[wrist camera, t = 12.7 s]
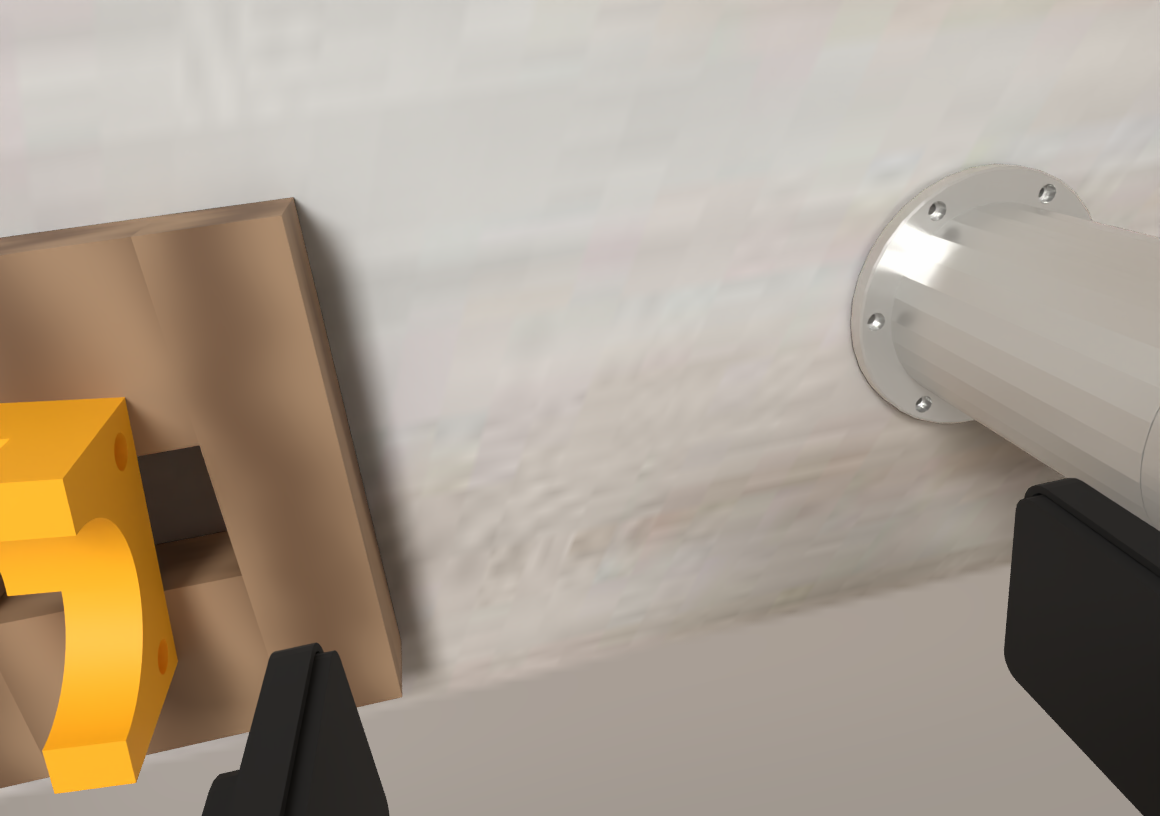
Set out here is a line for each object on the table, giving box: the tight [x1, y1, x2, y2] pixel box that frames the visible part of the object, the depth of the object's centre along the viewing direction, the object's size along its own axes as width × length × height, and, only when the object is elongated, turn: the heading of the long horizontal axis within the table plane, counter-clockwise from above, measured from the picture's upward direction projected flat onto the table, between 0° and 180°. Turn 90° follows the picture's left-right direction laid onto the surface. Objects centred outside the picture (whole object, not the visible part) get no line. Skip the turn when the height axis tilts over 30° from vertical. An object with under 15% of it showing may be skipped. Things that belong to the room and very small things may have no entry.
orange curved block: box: [0, 397, 178, 794], centre depth 29 cm, size 12×4×6 cm, turn 179°
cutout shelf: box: [0, 197, 402, 788], centre depth 34 cm, size 20×22×4 cm
